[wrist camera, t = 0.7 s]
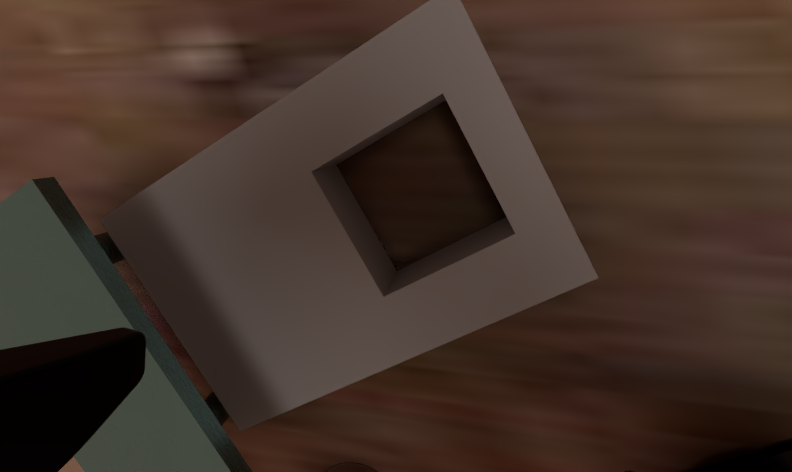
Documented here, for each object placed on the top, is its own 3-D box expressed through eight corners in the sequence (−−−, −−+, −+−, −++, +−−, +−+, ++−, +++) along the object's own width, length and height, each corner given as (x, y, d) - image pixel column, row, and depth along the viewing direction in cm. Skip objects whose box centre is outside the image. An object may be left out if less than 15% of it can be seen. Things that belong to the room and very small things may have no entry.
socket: (576, 253, 20) (598, 277, 17) (271, 390, 24) (239, 431, 21) (455, 11, 18) (452, -15, 15) (152, 206, 23) (98, 219, 19)
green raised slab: (323, 385, 24) (254, 507, 16) (240, 421, 25) (141, 548, 18) (183, 161, 22) (31, 179, 14) (103, 215, 23) (-74, 257, 16)
